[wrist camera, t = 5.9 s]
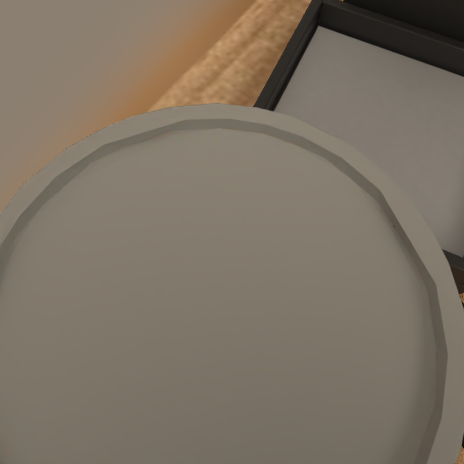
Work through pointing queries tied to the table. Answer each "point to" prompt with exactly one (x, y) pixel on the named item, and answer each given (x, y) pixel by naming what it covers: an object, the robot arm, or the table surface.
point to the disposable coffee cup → (224, 302)
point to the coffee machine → (387, 97)
